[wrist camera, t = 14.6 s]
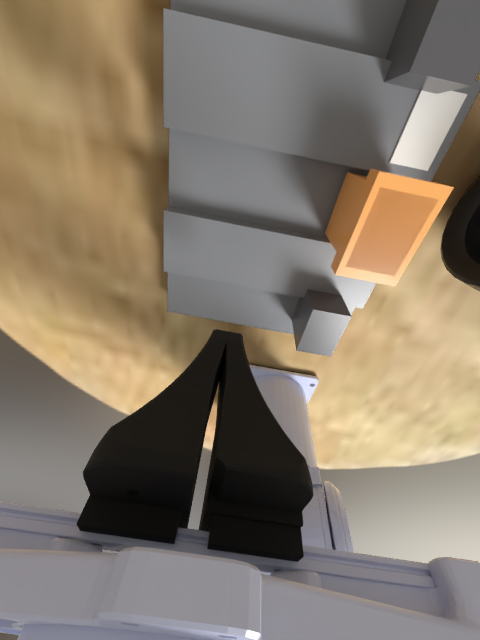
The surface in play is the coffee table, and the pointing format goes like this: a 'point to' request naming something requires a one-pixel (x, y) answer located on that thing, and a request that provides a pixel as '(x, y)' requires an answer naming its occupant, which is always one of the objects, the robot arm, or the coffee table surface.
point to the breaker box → (297, 143)
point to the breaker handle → (381, 223)
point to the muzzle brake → (464, 238)
